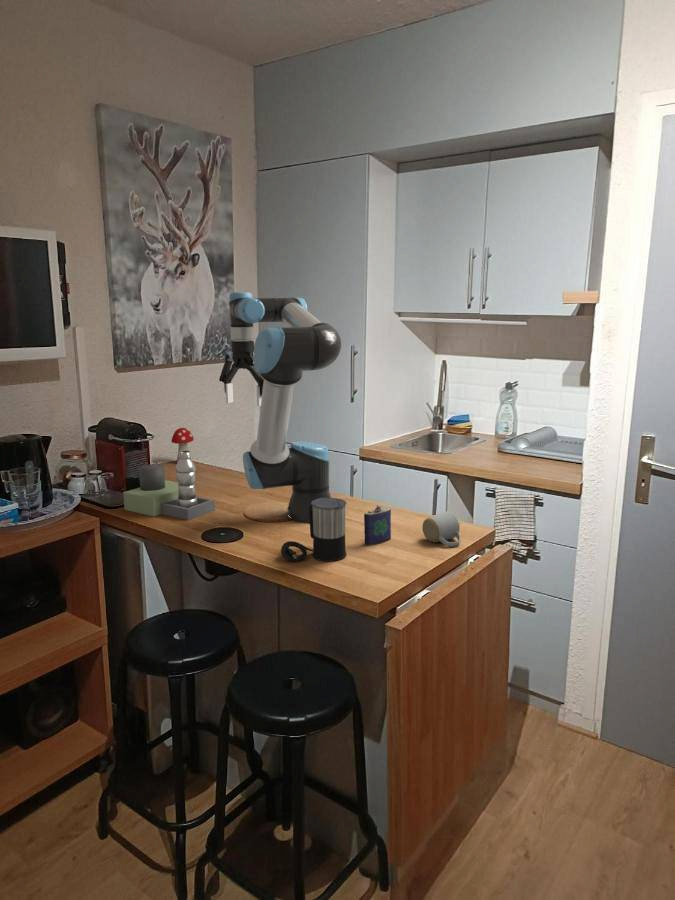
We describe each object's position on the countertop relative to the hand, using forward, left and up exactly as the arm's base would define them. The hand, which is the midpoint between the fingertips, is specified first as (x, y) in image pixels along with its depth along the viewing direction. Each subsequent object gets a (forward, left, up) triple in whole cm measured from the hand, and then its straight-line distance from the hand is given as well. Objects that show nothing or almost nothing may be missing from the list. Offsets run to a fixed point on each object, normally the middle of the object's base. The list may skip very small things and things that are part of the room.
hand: (245, 404), depth 226 cm
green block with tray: (+13, +23, -33) cm, 42 cm away
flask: (-60, +15, -33) cm, 70 cm away
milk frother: (-51, +34, -33) cm, 70 cm away
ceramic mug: (-75, +5, -33) cm, 83 cm away
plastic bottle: (+6, +23, -33) cm, 41 cm away
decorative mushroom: (+59, -27, -33) cm, 73 cm away
